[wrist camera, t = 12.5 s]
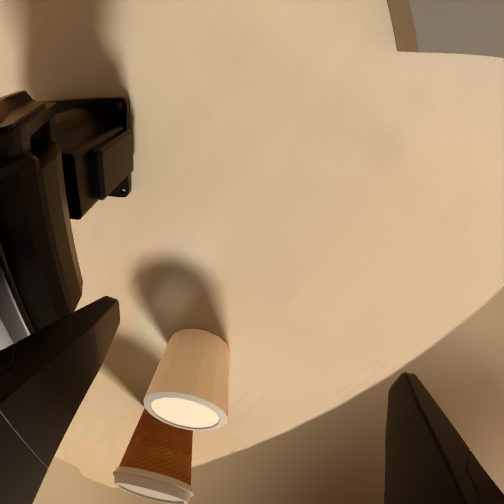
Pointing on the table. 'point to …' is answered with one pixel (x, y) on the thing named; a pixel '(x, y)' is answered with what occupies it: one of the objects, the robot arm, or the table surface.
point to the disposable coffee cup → (157, 462)
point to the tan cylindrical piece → (191, 382)
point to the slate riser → (449, 26)
